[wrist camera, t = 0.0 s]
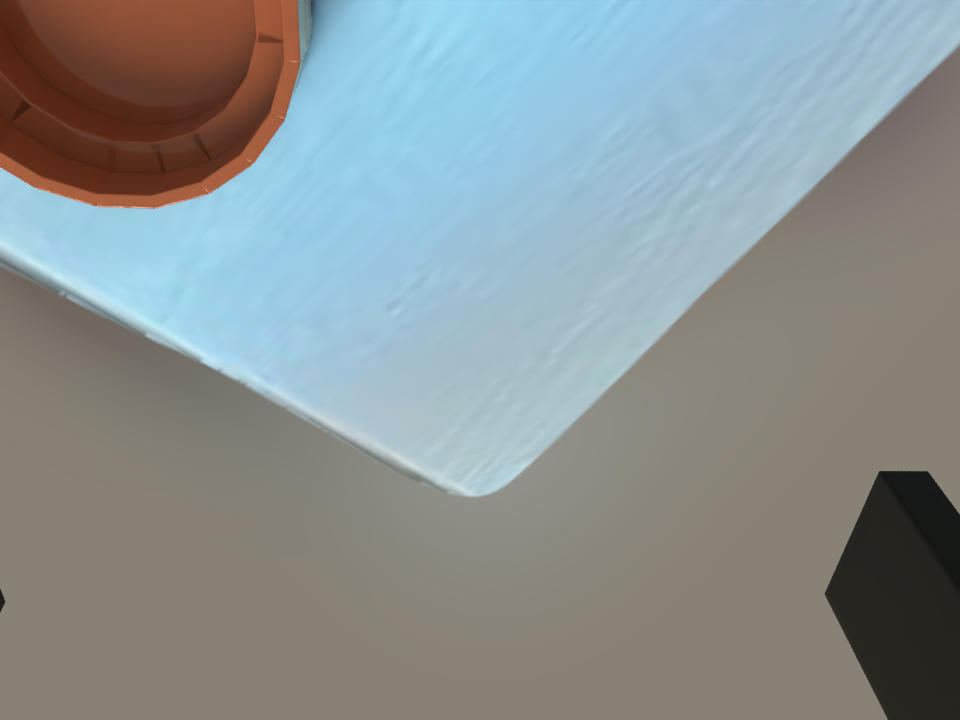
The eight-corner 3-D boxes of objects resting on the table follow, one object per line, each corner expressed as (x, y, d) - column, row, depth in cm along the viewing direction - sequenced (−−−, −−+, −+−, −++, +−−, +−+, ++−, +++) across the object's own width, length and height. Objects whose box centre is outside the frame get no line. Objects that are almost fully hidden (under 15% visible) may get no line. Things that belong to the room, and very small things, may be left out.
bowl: (-119, -245, 29) (-206, -247, 25) (303, -211, 30) (286, -208, 26) (-11, 154, 37) (-64, 201, 33) (318, 167, 38) (308, 214, 34)
